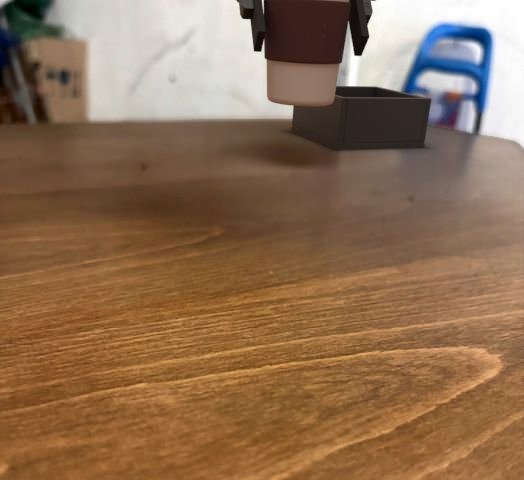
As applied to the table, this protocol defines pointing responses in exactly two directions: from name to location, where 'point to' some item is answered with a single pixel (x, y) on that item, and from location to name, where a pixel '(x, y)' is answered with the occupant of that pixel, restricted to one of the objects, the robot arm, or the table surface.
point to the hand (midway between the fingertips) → (311, 44)
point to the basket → (365, 119)
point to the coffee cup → (304, 49)
